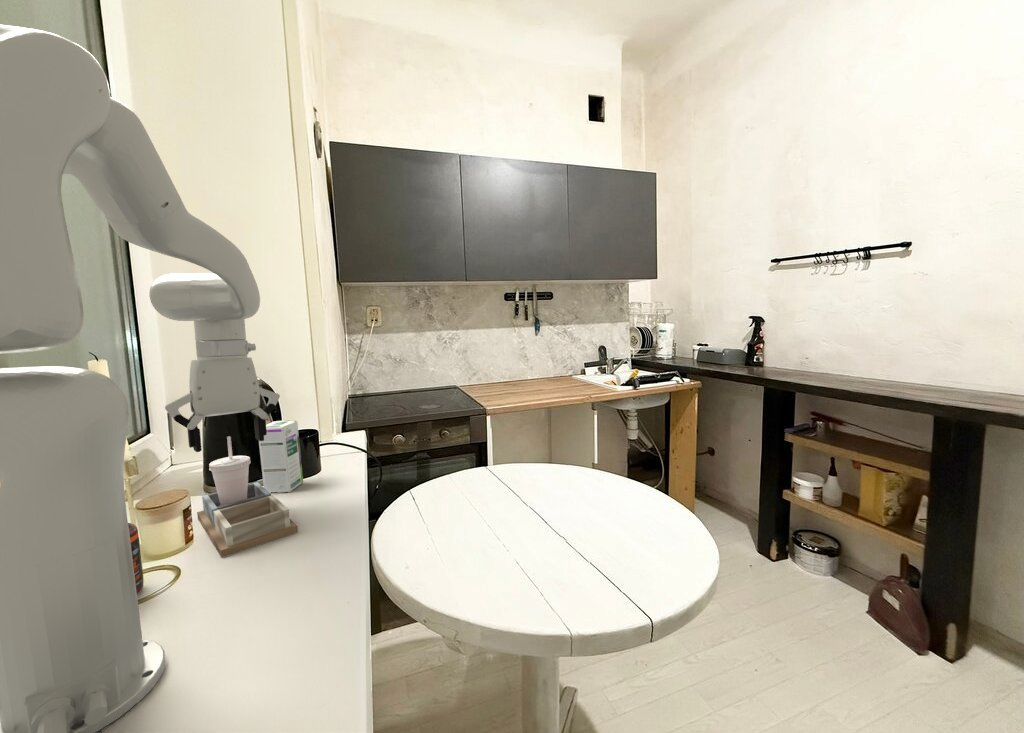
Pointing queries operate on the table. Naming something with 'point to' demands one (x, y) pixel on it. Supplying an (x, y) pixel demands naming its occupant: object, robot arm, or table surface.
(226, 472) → the smoothie
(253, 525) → the organizer
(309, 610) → the table surface
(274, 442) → the syrup box
